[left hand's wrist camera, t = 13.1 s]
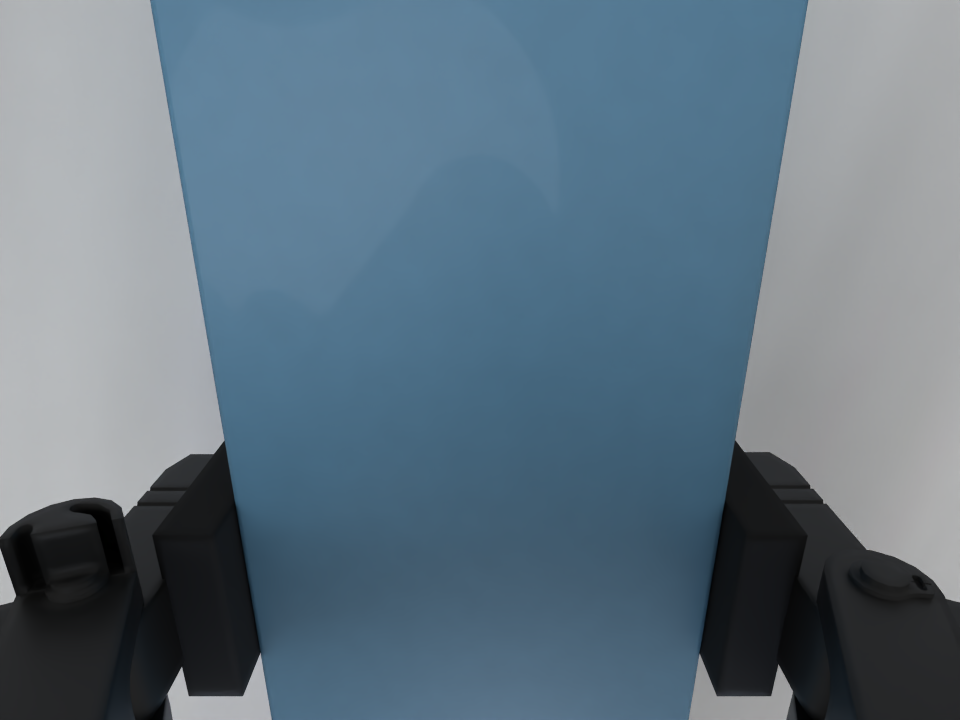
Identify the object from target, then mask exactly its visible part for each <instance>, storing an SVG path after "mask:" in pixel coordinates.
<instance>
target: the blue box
mask: <svg viewBox="0 0 960 720" xmlns="http://www.w3.org/2000/svg"><path fill="white" fill-rule="evenodd" d="M150 2H151V8H152V14H153V19H154V25H155V31H156V37H157V43H158V49H159V55H160V61H161V67H162V73H163V79H164V84H165V90H166V96H167V102H168V108H169V114H170V120H171V126H172V132H173V138H174V144H175V149H176V155H177V161H178V167H179V173H180V179H181V185H182V191H183V197H184V203H185V209H186V215H187V220H188V226H189V232H190V238H191V244H192V250H193V256H194V262H195V268H196V274H197V280H198V285H199V291H200V297H201V303H202V309H203V315H204V321H205V327H206V333H207V339H208V345H209V350H210V356H211V362H212V368H213V374H214V380H215V386H216V392H217V398H218V404H219V410H220V416H221V421H222V427H223V433H224V439H225V445H226V451H227V457H228V463H229V469H230V475H231V481H232V486H233V492H234V498H235V504H236V510H237V516H238V522H239V528H240V534H241V540H242V546H243V551H244V557H245V563H246V569H247V575H248V581H249V587H250V593H251V599H252V605H253V611H254V616H255V622H256V628H257V634H258V640H259V646H260V652H261V658H262V664H263V670H264V676H265V682H266V687H267V693H268V699H269V705H270V711H271V717H272V720H688V719H689V713H690V707H691V701H692V695H693V689H694V683H695V677H696V671H697V665H698V659H699V653H700V647H701V641H702V635H703V629H704V623H705V617H706V611H707V605H708V599H709V593H710V587H711V581H712V575H713V569H714V563H715V557H716V551H717V545H718V539H719V533H720V527H721V521H722V515H723V509H724V503H725V497H726V491H727V485H728V479H729V473H730V467H731V461H732V455H733V449H734V443H735V437H736V431H737V425H738V419H739V413H740V407H741V401H742V395H743V389H744V383H745V377H746V371H747V365H748V359H749V353H750V347H751V341H752V335H753V329H754V323H755V317H756V311H757V305H758V299H759V293H760V287H761V281H762V275H763V269H764V263H765V257H766V251H767V244H768V238H769V232H770V226H771V220H772V214H773V208H774V202H775V196H776V190H777V184H778V178H779V172H780V166H781V160H782V154H783V148H784V142H785V136H786V130H787V124H788V118H789V112H790V106H791V100H792V94H793V88H794V82H795V76H796V70H797V64H798V58H799V52H800V46H801V40H802V34H803V28H804V22H805V16H806V10H807V4H808V0H150Z"/></svg>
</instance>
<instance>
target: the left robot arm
mask: <svg viewBox="0 0 960 720" xmlns="http://www.w3.org/2000/svg"><path fill="white" fill-rule="evenodd" d="M137 503H138V504H137V506H134V507H133V508H132V509H131V510H130V511H129V513H128V514H127V515H126V516H125V517H124V516H123V512H122V508H121V507H120V506H119V505H117V504H116V503H115V502H113V501H112V500H106V499H100V498H84V499H73V500H69V501H65V502H61V503H57V504H53V505H50V506H48V507H45V508H43V509H40V510H38V511H36V512H33V513H31V514H29V515H27V516H25V517H24V518H22V519H21V520H19V521H18V522H16V523H15V524H13V525H11V526H10V527H9V528H8V529H7V530H6V531H5V532H4V533H3V535H2V536H1V537H0V549H1V552H2V555H3V558H4V561H5V564H6V567H7V570H8V573H9V576H10V578H11V581H12V584H13V587H14V590H15V593H16V598H15V600H14V602H12V603H8V604H4V605H0V720H172V714H171V707H170V703H169V699H168V695H167V693H168V691H169V690H170V688H171V686H172V684H173V682H174V680H175V678H176V676H177V675H178V673H179V671H180V669H181V667H182V668H183V672H184V677H185V681H186V686H187V690H188V694H189V696H243V695H244V692H245V690H246V687H247V685H248V682H249V680H250V677H251V675H252V672H253V670H254V667H255V665H256V662H257V660H258V657H259V655H260V646H259V640H258V634H257V628H256V622H255V616H254V611H253V605H252V599H251V593H250V587H249V581H248V575H247V569H246V563H245V557H244V551H243V546H242V540H241V534H240V528H239V522H238V516H237V510H236V504H235V498H234V492H233V486H232V481H231V475H230V469H229V463H228V457H227V451H226V445H225V441H224V442H223V443H222V445H221V446H220V447H219V449H218V450H217V451H216V452H215V454H190V455H189V456H187V457H186V458H184V459H182V460H181V461H179V462H177V463H176V464H174V465H173V466H171V467H169V468H168V469H166V470H165V471H164V472H163V473H162V475H161V476H160V477H159V478H158V479H157V480H156V482H155V483H154V484H153V485H152V486H151V487H150V491H147V492H146V493H145V494H144V495H143V497H142V498H141V499H140V500H139V501H138V502H137ZM700 655H701V657H702V660H703V662H704V665H705V667H706V670H707V672H708V675H709V677H710V680H711V682H712V685H713V687H714V690H715V692H716V695H717V696H771V694H772V690H773V685H774V681H775V677H776V672H777V668H778V664H779V666H780V668H781V669H782V671H783V673H784V675H785V677H786V679H787V681H788V683H789V684H790V686H791V688H792V690H793V695H792V699H791V703H790V707H789V711H788V715H787V719H786V720H960V602H955V601H951V600H948V599H945V596H944V594H943V593H942V592H941V590H940V589H939V588H938V586H937V585H936V584H935V582H934V581H933V580H932V579H930V578H929V577H928V576H926V575H925V574H924V573H922V572H921V571H920V570H918V569H917V568H916V567H914V566H912V565H910V564H908V563H906V562H903V561H901V560H899V559H897V558H895V557H893V556H889V555H886V554H882V553H879V552H875V551H871V550H866V549H865V548H864V546H863V545H862V544H861V543H860V542H859V541H858V540H857V538H856V537H855V536H854V535H853V534H852V533H851V531H850V530H849V529H848V528H847V527H846V526H845V525H844V523H843V522H842V521H841V520H840V519H839V518H838V517H837V515H836V514H835V513H834V512H833V511H832V510H831V509H830V507H829V506H828V505H827V504H823V499H822V498H821V497H820V496H819V495H818V494H817V493H816V491H815V490H814V489H810V485H809V483H808V482H807V481H806V480H805V479H804V478H803V477H802V475H801V474H800V473H799V472H798V471H797V470H796V469H795V467H793V466H791V465H790V464H788V463H786V462H785V461H783V460H781V459H780V458H778V457H777V456H775V455H773V454H772V453H770V452H744V451H743V450H742V449H741V447H740V446H739V445H738V443H737V442H736V441H735V443H734V449H733V455H732V461H731V467H730V473H729V479H728V485H727V491H726V497H725V503H724V509H723V515H722V521H721V527H720V533H719V539H718V545H717V551H716V557H715V563H714V569H713V575H712V581H711V587H710V593H709V599H708V605H707V611H706V617H705V623H704V629H703V635H702V641H701V647H700Z"/></svg>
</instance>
